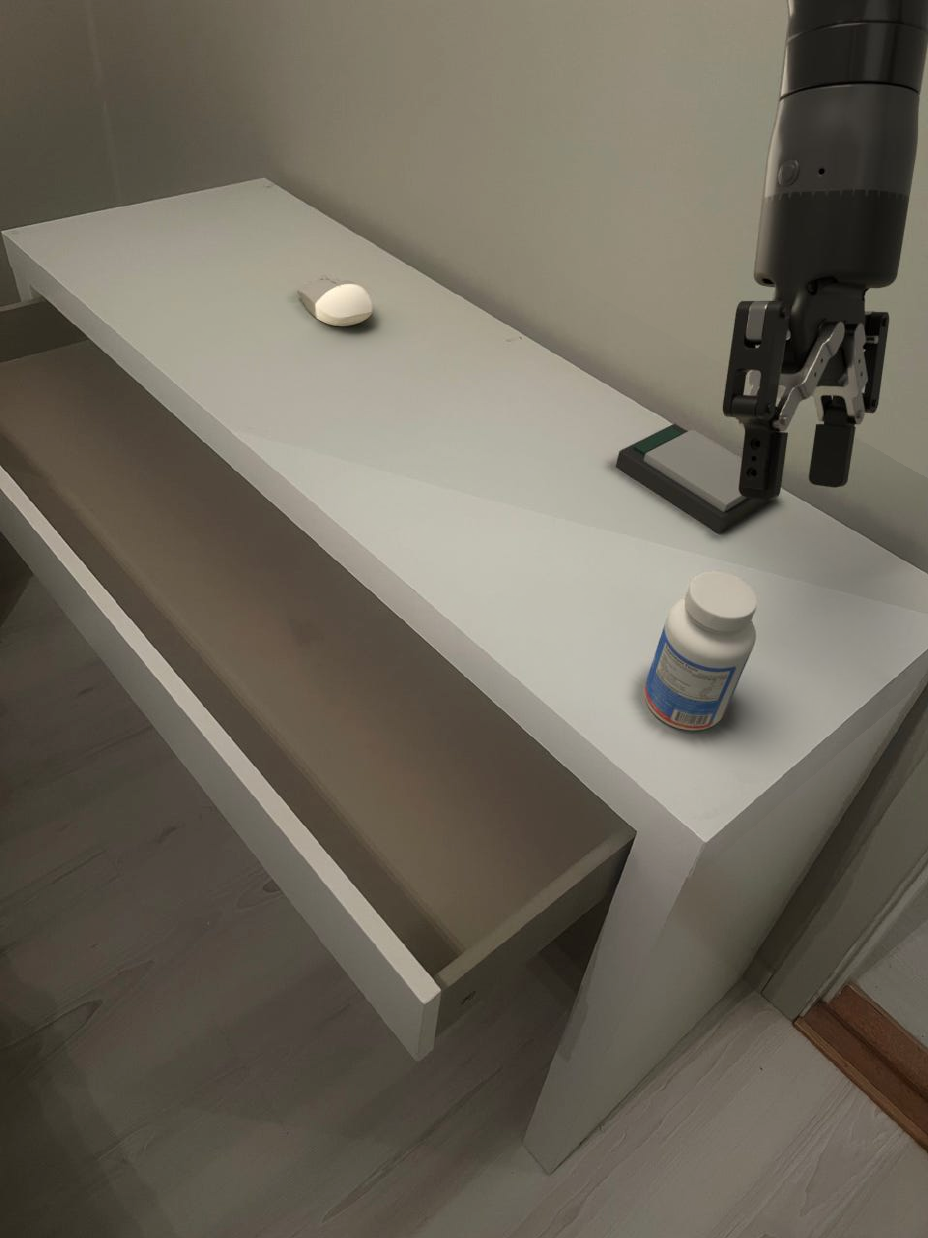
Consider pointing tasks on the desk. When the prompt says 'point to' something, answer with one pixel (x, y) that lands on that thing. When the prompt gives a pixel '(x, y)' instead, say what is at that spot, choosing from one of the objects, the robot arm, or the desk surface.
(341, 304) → the computer mouse
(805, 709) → the desk surface
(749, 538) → the desk surface
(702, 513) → the scale
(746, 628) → the pill bottle
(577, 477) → the desk surface
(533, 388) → the desk surface
